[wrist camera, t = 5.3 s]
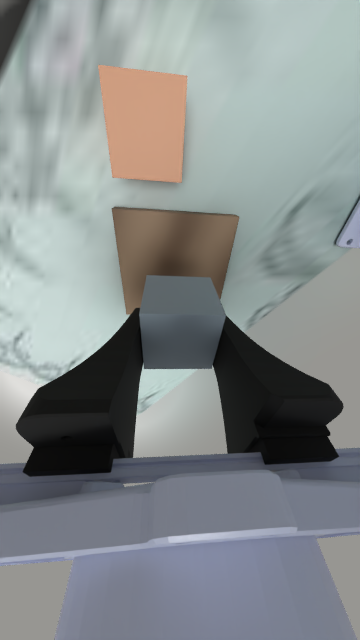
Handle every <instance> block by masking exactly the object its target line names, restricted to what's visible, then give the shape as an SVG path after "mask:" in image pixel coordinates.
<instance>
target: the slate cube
mask: <svg viewBox="0 0 360 640" xmlns="http://www.w3.org/2000/svg"><path fill="white" fill-rule="evenodd" d="M139 316H140V328H141V339H142V351H143V362H144V369H211V368H212V365H213V362H214V358H215V354H216V351H217V347H218V343H219V339H220V336H221V332H222V328H223V325H224V321H225V317H226V314H225V311H224V309H223V307H222V304H221V302H220V299H219V297H218V295H217V292H216V290H215V287H214V285H213V283H212V280H211V278H210V277H183V276H156V275H147V276H146V282H145V287H144V292H143V297H142V302H141V307H140V312H139Z"/></svg>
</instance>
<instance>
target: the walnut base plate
mask: <svg viewBox="0 0 360 640" xmlns="http://www.w3.org/2000/svg"><path fill="white" fill-rule="evenodd" d="M112 214H113V221H114V228H115V235H116V242H117V249H118V257H119V264H120V271H121V278H122V285H123V292H124V300H125V307H126V314H131V313H132V312H133V311H134V309H135V308H140V307H141V302H142V297H143V292H144V287H145V282H146V276H147V275H156V276H183V277H210V278H211V280H212V283H213V285H214V287H215V290H216V292H217V295H218V297H219V299H220V298H221V294H222V290H223V285H224V281H225V277H226V273H227V268H228V264H229V260H230V255H231V251H232V247H233V242H234V238H235V234H236V229H237V225H238V221H239V216H237V215H232V214H216V213H201V212H186V211H170V210H155V209H140V208H125V207H114V208H112Z"/></svg>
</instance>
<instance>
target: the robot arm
mask: <svg viewBox="0 0 360 640" xmlns="http://www.w3.org/2000/svg"><path fill="white" fill-rule="evenodd" d="M349 239H350V240H349ZM348 240H349V242H348V243H347V241H348ZM336 245H337V246H339V247H348V248H360V200H359V201H358V203H357V205H356V207H355V209H354V210H353V212H352V214H351V216H350V218H349V219H348V221H347V223H346V225H345V227H344V228H343V230H342V232H341V234H340V236H339V237H338V239H337V241H336ZM139 312H140V308H135V309H134V311H133V312H132V313H131V315H130V316H129V318H128V319H127V320H126V322H125V323H124V324H123V325H122V326H121V328H120V329H119V330H118V331H117V332H116V333H115V334H114V335H113V337H112V338H111V339H110V340H109V341H108V342H107V343H105V344H104V345H103V346H102V347H101V348H100V349H99V350H98V351H96V352H95V353H94V354H93V355H91V356H90V357H89V358H88V359H86V360H85V361H84V362H82V363H81V364H79V365H78V366H76V367H75V368H73V369H72V370H70V371H68V372H67V373H65V374H64V375H62V376H60V377H58V378H57V379H55V380H53V381H51V382H50V383H48V384H46V385H44V386H42V387H40V388H39V389H38V390H37V391H36V393H35V394H34V396H33V397H32V398H31V400H30V402H29V403H28V405H27V407H26V408H25V410H24V412H23V413H22V415H21V417H20V418H19V420H18V422H17V424H16V430H17V431H18V433H19V434H20V435H21V436H22V437H23V438H24V439H25V440H26V441H28V442H29V443H30V444H31V445H32V446H33V447H34V449H33V451H32V453H31V455H30V457H29V459H28V461H27V463H11V464H0V566H4V565H17V564H28V563H41V562H52V561H65V560H73V564H72V567H71V572H70V576H69V580H68V584H67V588H66V592H65V596H64V601H63V605H62V609H61V613H60V617H59V621H58V626H57V630H56V634H55V638H54V640H357V638H356V635H355V633H354V630H353V628H352V625H351V623H350V621H349V618H348V615H347V613H346V611H345V608H344V606H343V603H342V601H341V599H340V596H339V593H338V591H337V589H336V586H335V584H334V581H333V579H332V576H331V574H330V571H329V569H328V566H327V564H326V562H325V559H324V557H323V555H322V552H321V549H320V547H319V544H318V542H317V540H316V538H326V537H337V536H348V535H357V534H360V448H346V449H345V448H344V449H335V448H334V447H333V445H332V443H331V442H330V440H329V438H328V437H327V436H330V432H329V430H328V429H327V427H326V425H327V424H328V423H329V422H331V421H332V420H333V419H334V418H336V417H337V416H338V415H339V414H340V413H341V412H342V409H343V403H342V401H341V400H340V399H339V398H338V396H337V395H336V394H335V392H334V391H333V390H332V388H331V387H330V386H329V385H328V384H327V383H324V382H322V381H320V380H318V379H316V378H314V377H311V376H309V375H307V374H305V373H303V372H301V371H299V370H297V369H296V368H294V367H292V366H290V365H288V364H287V363H285V362H283V361H281V360H280V359H278V358H277V357H275V356H273V355H272V354H270V353H269V352H267V351H266V350H265V349H263V348H262V347H260V346H259V345H258V344H256V343H255V342H254V341H253V340H252V339H250V338H249V337H248V336H247V335H246V334H245V333H244V332H242V331H241V330H240V329H239V328H238V327H237V326H236V325H235V324H234V323H233V322H232V321H231V320H230V319H229V318H228V317H227V316H226V317H225V321H224V325H223V328H222V332H221V336H220V339H219V343H218V347H217V351H216V354H215V358H214V362H213V367H214V370H215V374H216V377H217V382H218V386H219V393H220V398H221V405H222V411H223V419H224V426H225V433H226V442H227V452H228V454H214V455H213V454H211V455H190V456H169V457H168V456H167V457H147V458H146V457H144V458H133V450H134V435H135V424H136V412H137V401H138V391H139V382H140V376H141V371H142V366H143V351H142V339H141V328H140V316H139ZM142 482H155V483H149V484H143V485H135V486H128V487H124V485H123V484H126V483H142Z"/></svg>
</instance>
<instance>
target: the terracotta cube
mask: <svg viewBox="0 0 360 640" xmlns="http://www.w3.org/2000/svg"><path fill="white" fill-rule="evenodd" d="M98 67H99V75H100V83H101V91H102V99H103V106H104V114H105V122H106V130H107V138H108V146H109V154H110V161H111V169H112V177H113V178H125V179H138V180H152V181H165V182H178V183H181V182H182V164H183V146H184V127H185V109H186V91H187V76H185V75H176V74H168V73H160V72H152V71H144V70H136V69H128V68H120V67H112V66H103V65H98Z"/></svg>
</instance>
